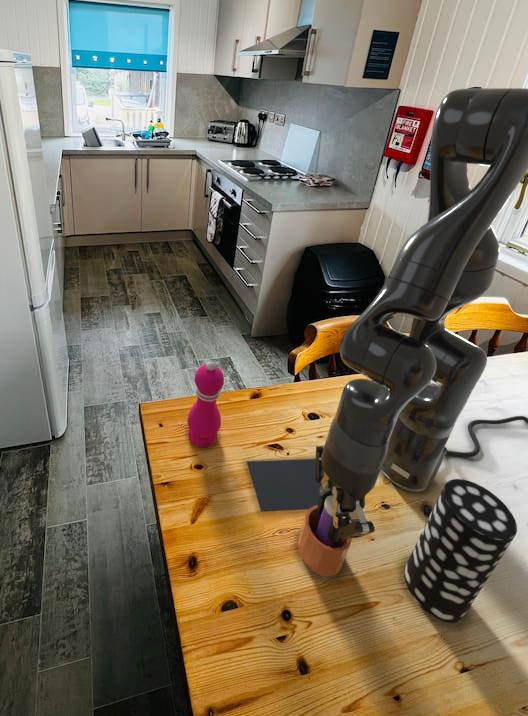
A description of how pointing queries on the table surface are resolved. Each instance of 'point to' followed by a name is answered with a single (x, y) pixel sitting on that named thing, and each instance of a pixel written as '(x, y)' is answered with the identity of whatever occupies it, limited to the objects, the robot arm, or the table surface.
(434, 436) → the robot arm
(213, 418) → the pepper mill
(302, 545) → the cup
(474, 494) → the white-spotted black cylinder
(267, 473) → the mat
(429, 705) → the table surface
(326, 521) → the glue stick
